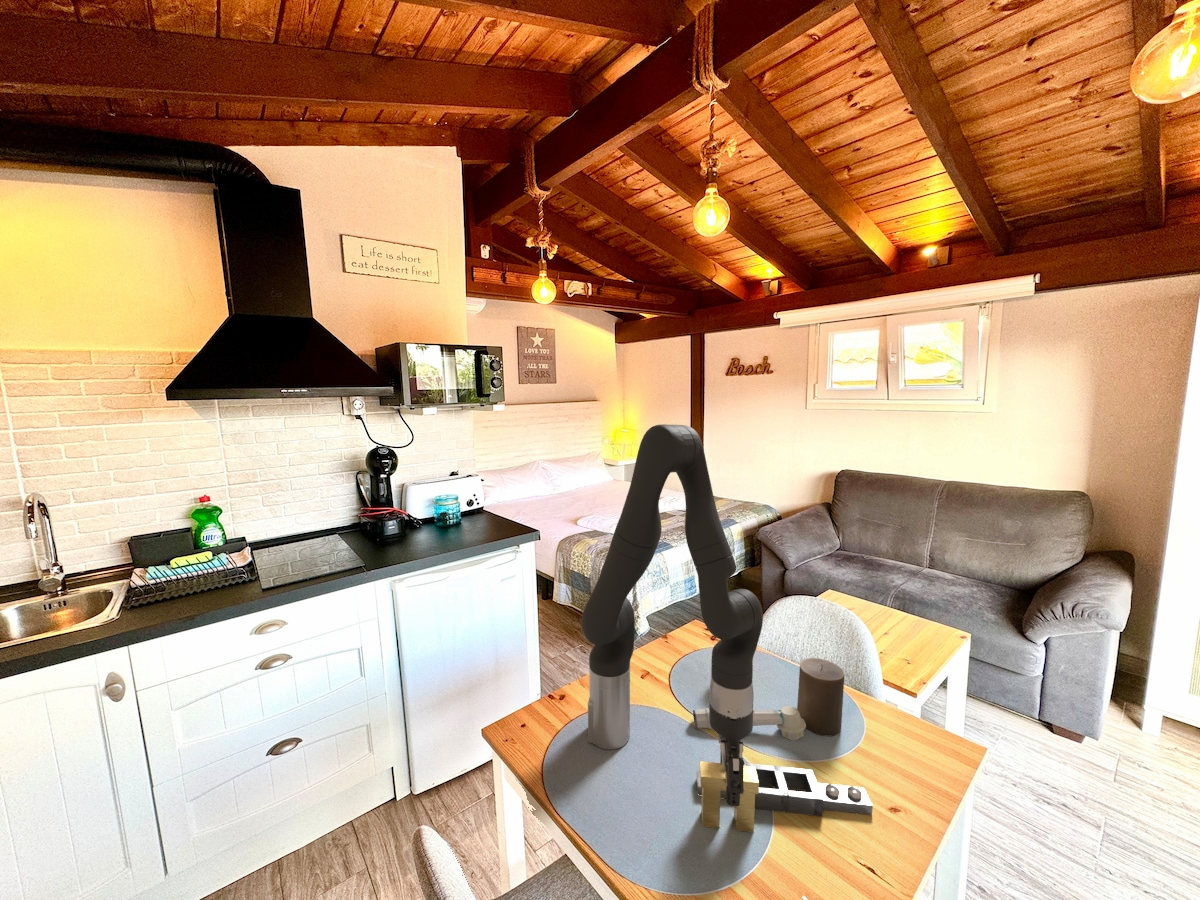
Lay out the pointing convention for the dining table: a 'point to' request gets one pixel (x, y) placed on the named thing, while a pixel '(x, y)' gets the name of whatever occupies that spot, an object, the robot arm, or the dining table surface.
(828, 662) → the pillar candle
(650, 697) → the dining table surface
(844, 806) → the chain ends
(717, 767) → the wooden u-shaped block
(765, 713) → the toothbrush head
